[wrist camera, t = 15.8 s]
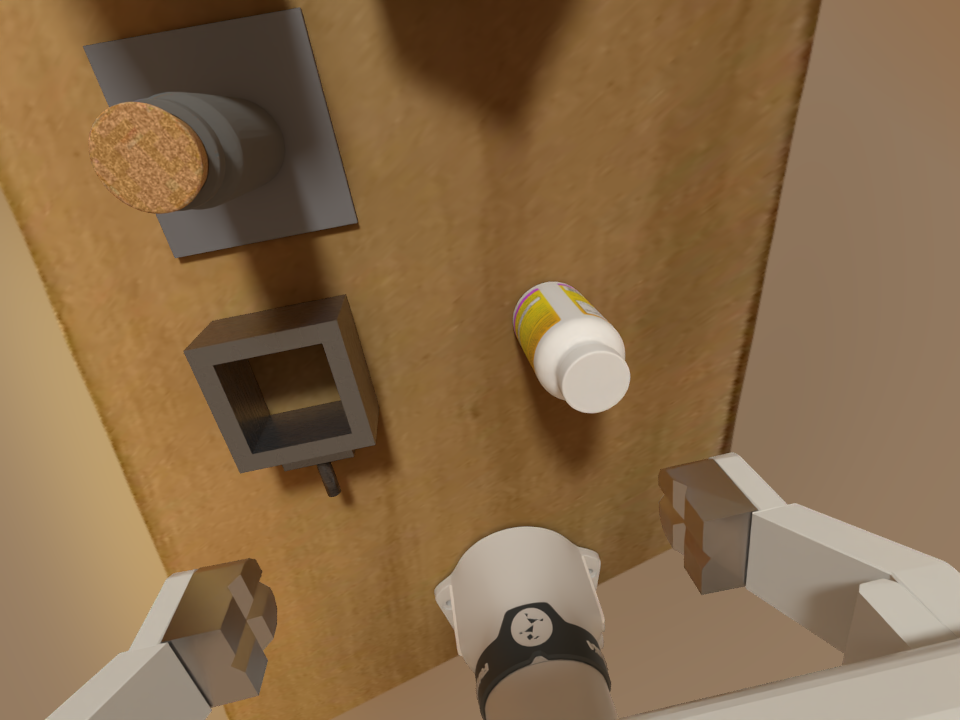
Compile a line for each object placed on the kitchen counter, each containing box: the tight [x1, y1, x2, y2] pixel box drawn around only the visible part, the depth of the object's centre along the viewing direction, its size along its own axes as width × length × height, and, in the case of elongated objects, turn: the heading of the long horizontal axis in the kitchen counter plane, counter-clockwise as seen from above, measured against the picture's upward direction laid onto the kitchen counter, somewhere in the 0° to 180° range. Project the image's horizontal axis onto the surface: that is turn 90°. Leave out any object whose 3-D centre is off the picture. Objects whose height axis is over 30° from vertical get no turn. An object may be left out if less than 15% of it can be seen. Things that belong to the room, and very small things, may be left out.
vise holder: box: [184, 294, 379, 497], centre depth 44 cm, size 17×11×6 cm, turn 10°
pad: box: [83, 8, 358, 258], centre depth 37 cm, size 14×14×1 cm
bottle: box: [89, 92, 285, 214], centre depth 30 cm, size 6×6×15 cm
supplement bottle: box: [513, 282, 630, 413], centre depth 40 cm, size 7×7×13 cm
